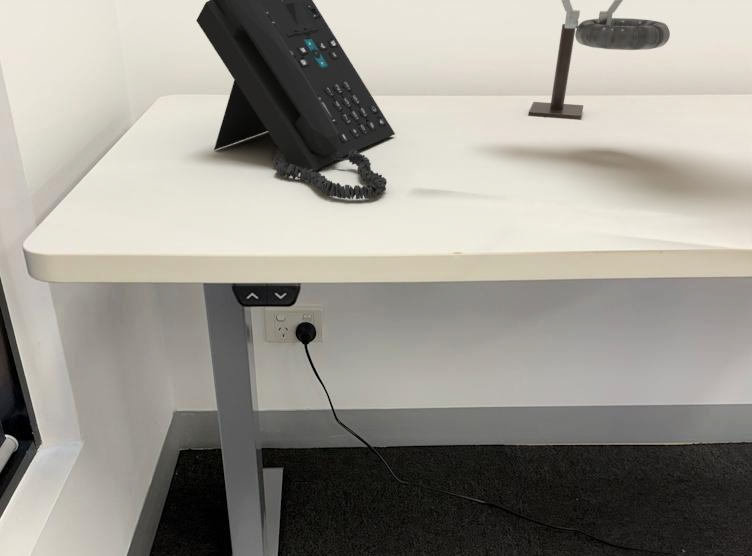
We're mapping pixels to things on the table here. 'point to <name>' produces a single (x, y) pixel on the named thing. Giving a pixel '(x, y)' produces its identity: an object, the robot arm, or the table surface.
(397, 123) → the table surface
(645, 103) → the table surface
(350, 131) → the office phone
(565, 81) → the stand
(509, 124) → the table surface
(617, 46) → the ring
